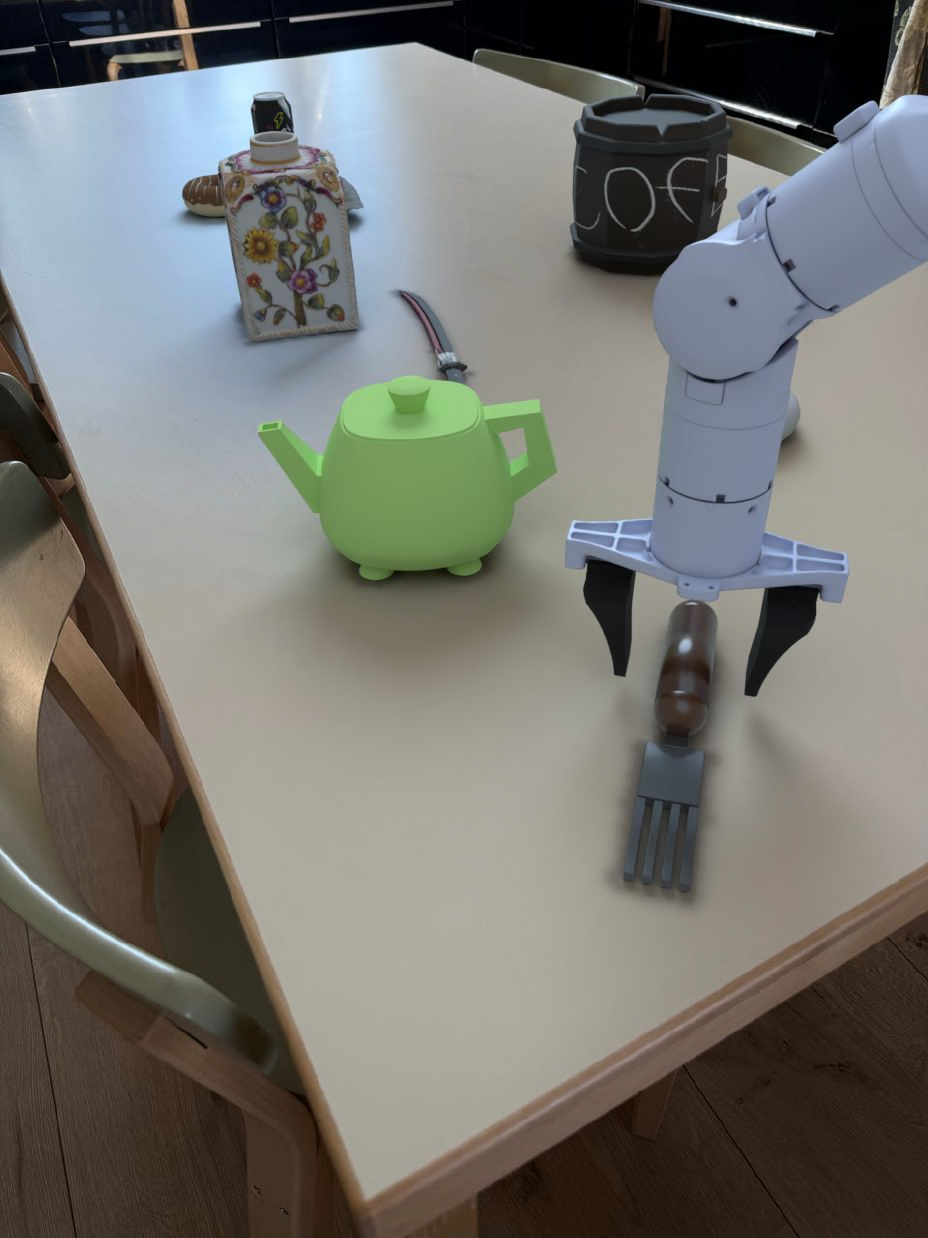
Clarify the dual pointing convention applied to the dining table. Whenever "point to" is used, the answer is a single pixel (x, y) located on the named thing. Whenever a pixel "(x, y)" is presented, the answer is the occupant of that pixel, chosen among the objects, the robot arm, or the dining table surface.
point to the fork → (676, 741)
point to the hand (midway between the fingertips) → (685, 675)
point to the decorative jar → (289, 238)
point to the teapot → (416, 474)
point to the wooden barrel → (647, 180)
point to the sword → (448, 357)
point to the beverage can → (271, 113)
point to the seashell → (351, 195)
